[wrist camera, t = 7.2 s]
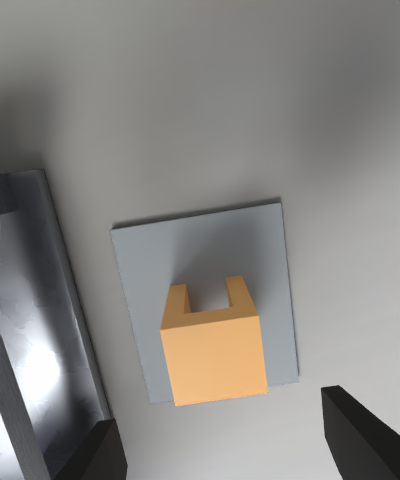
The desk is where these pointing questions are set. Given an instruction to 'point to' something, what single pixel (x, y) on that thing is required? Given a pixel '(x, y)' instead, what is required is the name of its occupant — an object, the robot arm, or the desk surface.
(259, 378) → the clip
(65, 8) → the desk surface
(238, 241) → the mat
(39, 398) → the rail stand
